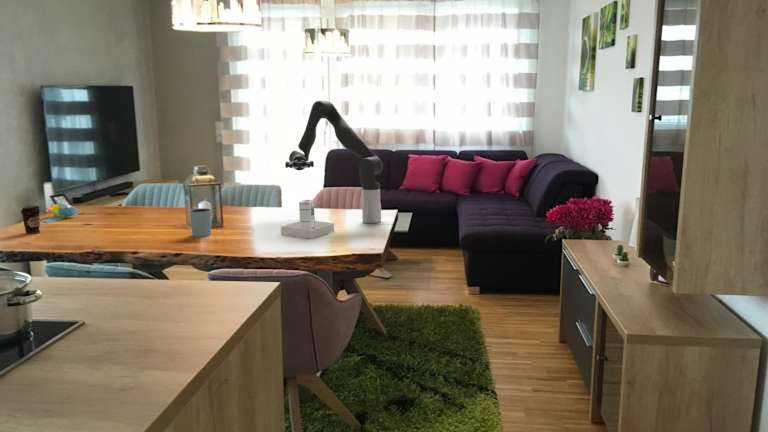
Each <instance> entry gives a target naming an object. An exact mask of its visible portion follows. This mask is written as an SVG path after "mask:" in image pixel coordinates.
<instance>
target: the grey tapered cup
mask: <svg viewBox="0 0 768 432" xmlns="http://www.w3.org/2000/svg"><path fill="white" fill-rule="evenodd" d="M188 213H189V217H190V218H189V219H190V224H191V225H190V226H191V233H192V236H193V237H195V238H198V237H199V238H200V237H201V238H202V237H209V236H212V209H211V208H204V207H203V208H193V209H190V210H188Z"/></svg>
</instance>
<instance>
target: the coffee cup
mask: <svg viewBox="0 0 768 432" xmlns="http://www.w3.org/2000/svg"><path fill="white" fill-rule="evenodd" d="M40 212H41V209H40V206H38V205H29V206H28V205H27V206H24V207H22V209H21V210H20V214H21V217H22V221H23V227H24V231H25V234H27V235H35V234H38V233H41V230H40V227H41V223H40V221H41V216H40Z"/></svg>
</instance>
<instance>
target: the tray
mask: <svg viewBox="0 0 768 432" xmlns="http://www.w3.org/2000/svg"><path fill="white" fill-rule="evenodd" d="M333 232H335V223H334V222H330V221H329V222H328V221H323V220H322V221H321V220H315V228H314V229H311V230H310V229H303V228H300V220H297V221H294V222H290V223H287V224H283V225H280V234H281V235H284V236H285V235H286V236H291V237H299V238H304V239H305V238H306V239H313V238H317V237H320V236H324V235H326V234H330V233H333Z"/></svg>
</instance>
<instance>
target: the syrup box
mask: <svg viewBox="0 0 768 432" xmlns="http://www.w3.org/2000/svg"><path fill="white" fill-rule="evenodd" d="M314 203H315V202H314V200H313V199H302V200H301V201H299V202H298V207H299V208H298V209H299V210H298V212H299V221H300V228H303V229H310V230H311V229H314V228H315V221H316V219H315V204H314Z"/></svg>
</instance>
